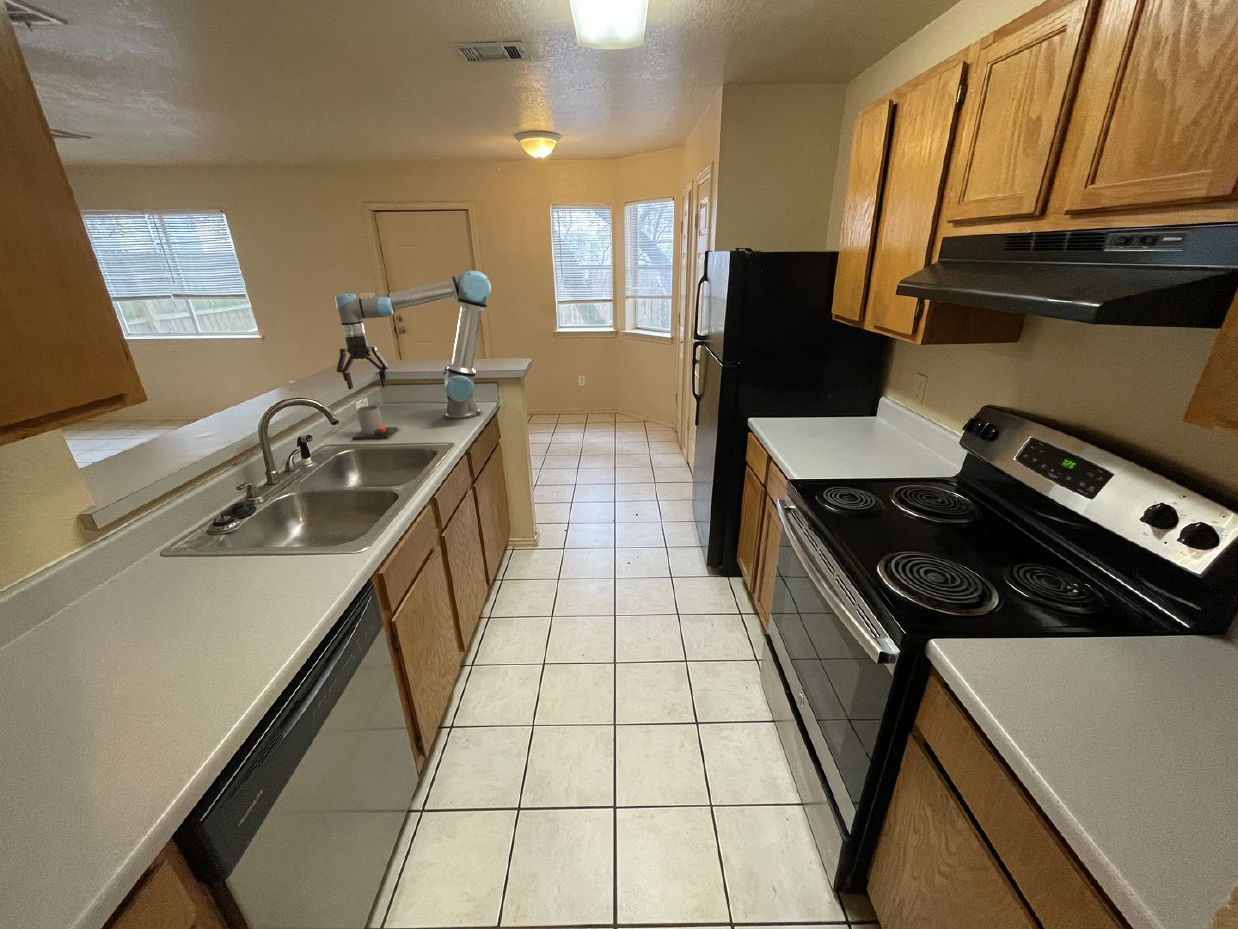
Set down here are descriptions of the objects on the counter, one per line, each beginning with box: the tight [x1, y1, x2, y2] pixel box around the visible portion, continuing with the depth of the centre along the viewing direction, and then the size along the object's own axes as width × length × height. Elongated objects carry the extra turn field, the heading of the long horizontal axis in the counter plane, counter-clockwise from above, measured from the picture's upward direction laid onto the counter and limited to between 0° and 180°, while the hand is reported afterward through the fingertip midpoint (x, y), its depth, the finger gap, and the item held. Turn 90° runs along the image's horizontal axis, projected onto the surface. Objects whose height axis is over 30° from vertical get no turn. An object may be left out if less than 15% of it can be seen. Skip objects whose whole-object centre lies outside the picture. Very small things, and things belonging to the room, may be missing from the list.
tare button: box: [378, 426, 387, 432], centre depth 209 cm, size 3×3×2 cm
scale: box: [352, 426, 399, 441], centre depth 213 cm, size 14×12×3 cm
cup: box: [356, 405, 384, 435], centre depth 212 cm, size 8×8×10 cm
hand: (367, 387), depth 208 cm, fingers open, 13 cm apart
